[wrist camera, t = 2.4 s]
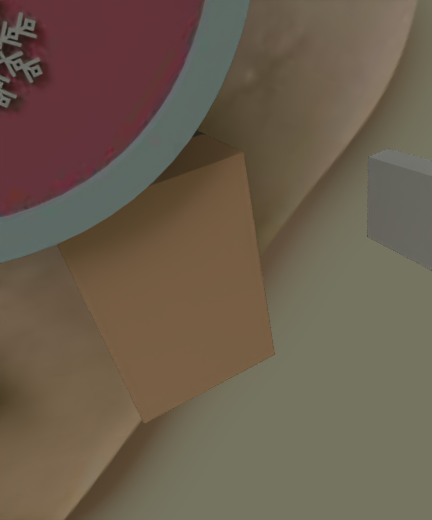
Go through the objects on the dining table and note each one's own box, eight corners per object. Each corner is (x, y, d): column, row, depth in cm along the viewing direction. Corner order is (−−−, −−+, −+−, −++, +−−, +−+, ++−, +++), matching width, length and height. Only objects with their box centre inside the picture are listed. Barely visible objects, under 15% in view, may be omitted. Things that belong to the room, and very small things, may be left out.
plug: (22, 130, 14) (47, 223, 7) (129, 99, 15) (243, 152, 8) (84, 266, 17) (144, 423, 10) (168, 233, 19) (274, 354, 11)
